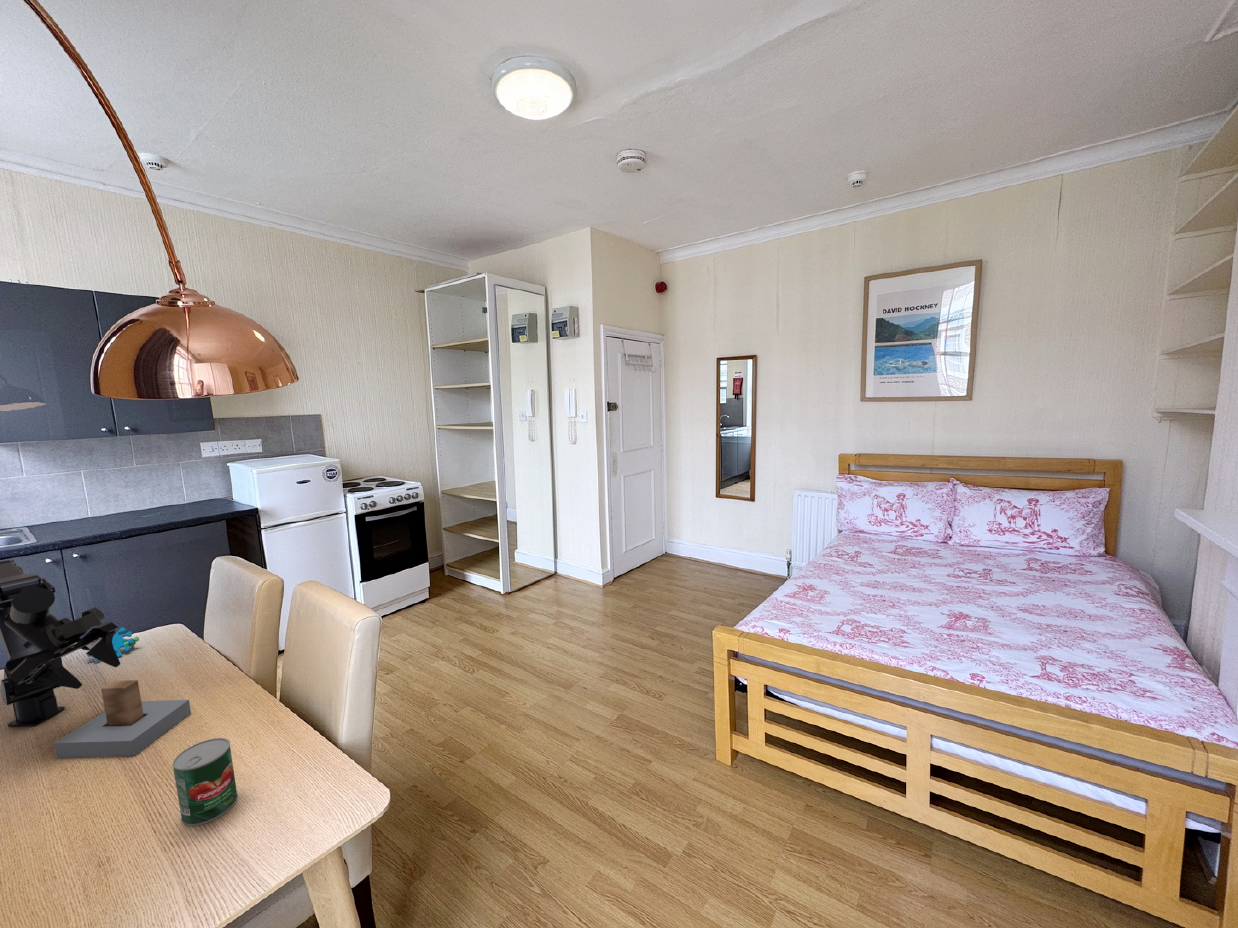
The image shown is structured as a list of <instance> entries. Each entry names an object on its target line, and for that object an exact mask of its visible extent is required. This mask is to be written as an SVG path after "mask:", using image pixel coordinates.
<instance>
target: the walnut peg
mask: <svg viewBox="0 0 1238 928" xmlns="http://www.w3.org/2000/svg"><path fill="white" fill-rule="evenodd" d="M100 691H101V696H102V701H103V707H104V712H105V713H106V719H107V725H108V726H132V725H133V724H135V723H136V722H137V721H139V720H140V719H142V718H143V717H144V715H143V709H142V703H141V701H142V698H141V692H140V687H139V680H138V679H136V680H135V679H133V680H131V679H130V680H128V679H127V680H126V679H125V680H113V681H112V682H110V683H109V684H107V685H105V686H103V687H101V688H100Z"/></svg>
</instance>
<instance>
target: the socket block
mask: <svg viewBox="0 0 1238 928" xmlns="http://www.w3.org/2000/svg"><path fill="white" fill-rule="evenodd" d="M141 703H142V709H143V715H144V717H143V718H142V719H140V720H139V721H137V722H136V723H135V724H133V725H132V726H108V725H107V719H106V713H105V711H103V712H102V713H100V714H98V715H97V716H95V717H93V718H91V720H89V721H87V722H85V723H83V724H82V725H81V726H79V727H77V728H75V729H74V730H72V731H71V732H69V733H67V734H66V735H64V736H62V737H61V738H60V739H58V740H56V741H55V742H53V746H54V751H55V756H56V759H79V758H80V759H81V758H82V759H83V758H85V759H86V758H87V759H88V758H112V757H113V758H115V757H116V758H117V757H118V758H119V757H120V758H121V757H123V758H124V757H135V756H137V754H139V753H140V752H142V751H144V750H145V749H146V748H148V747H149V745H151V744H152V743H154V742H155V741H157V740H158V739H159V738H160V737H162V736H163V735H164V734H166V733H167V732H168V731H169V730H171V729H172V728H174V727H175V726H176V725H178V724H179V723H181V721H183V720H184V719H185V718H187V717H188V716H190V715H191V714H192V712H191V705H190V699H171V700H169V699H167V700H166V699H165V700H164V699H163V700H141Z"/></svg>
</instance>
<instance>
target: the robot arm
mask: <svg viewBox="0 0 1238 928" xmlns="http://www.w3.org/2000/svg"><path fill="white" fill-rule="evenodd" d="M55 593H56V587H55V586H54V585H52V583H51V582H49V581H47V580H46V578H45V577H43V578H42V577H41V576H40V575H39V574H36V573H27V574H26V573H24V569H23V568H22V567H20V566H18V565H17V563H16V562H15V560H14V559H12V560H10V559H6V560H5V559H4V560H0V639H1V642H2V645H3V647H4V651H5V654H6V657H7V659H8V660H7V661H6V662H5V663H6V664H5V666H4V668H3V679H1V680H0V695H1V696H0V697H1V700H2V701H3V703H4V704H5V705H6V706H10V705H11V704H12V709H13V713H14V718H15V719H14V720H12V721H11V722H9V723H7V727H32V726H37V725H39V724H41V723H43V722H44V721H46V720H48V719H49V718H51V717H53V716H54V715H56V714H58V713H60V712H62V711H63V710H65V709H66V707H65V706H63V705H62V706H58V701H57V697H56V695H55V691H54V689H59V688H61V687H65V688H71V689H76V690H78V689H80V688H81V687H82V686H83V683H82V682H81V681H80V680H79V679H78V678H77V677H76V676H75V675H74V674H72V673H71V672H70V671H69V670H68V669H67V668H66V667H64V665H63V657H66V656H67V655H69V654H71V653H74V652H76V651H79V650H80V649H81V650H83V651H86V653H85V654H86V655H87V654H88V655H90V657H92V658H93V657H94V658H96V659H98V661H100V662H102V663H104V664H106V665H108V666H111V667H114V668H117V667H119V666H120V665H121V661H120V659H119V657H117V654H116V653H117V652H115V650H114V647H113V644H112V639H113V636H114V635H115V634H116V632H117V630H118V629H119V626H117V624H115V623H113V622H112V621H111V622H109V621H105V622H104V623H102V621H101V620H103V619H104V618H105V614H104V613H103V612H102V610H100V609H98V608H97V607H93V608H90V609H88V610H85V611H83V612H81V617H79V618H77V619H74V620H71V619H70V618H66V617H64V618H61V619H59V618H58V617H56V616H55V615H54V614H53V613H52V610H53V607H54V604H55V600H56V596H55Z"/></svg>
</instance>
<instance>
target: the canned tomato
mask: <svg viewBox="0 0 1238 928" xmlns="http://www.w3.org/2000/svg"><path fill="white" fill-rule="evenodd" d="M171 766H172V768H173V774H174V775H173V776H174V780H175V789H176V793H177V799H178V805H179V808H180V809H179V810H180V811H179V812H180V816H181V822H182V824H183V825H184V826H188V827H199V826H202V825H205V824H208V823H210V822H212V821H215V820H216V819H218V818H220V817H222V816H223V815H225V814H226V813H227V812H229V811H230V810H231V809H232V808H233V807H234V806H235V804H236V803H237V801H238V797H239V795H238V791H237V790H238V789H237V783H236V778H235V777H236V776H235V769H234V763H233V756H232V750H231V742H230V740H229V739H227V738H225V737H217V738H215V737H214V738H209V739H207V740H203V741H200V742H197V743H195V744H193V745H191V746H188V748H187V747H186V748H185V749H184V750H183V751H181V752H180V753H179V754H178V755H176V757H175V758H174V759H173V761H172V765H171Z"/></svg>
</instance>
